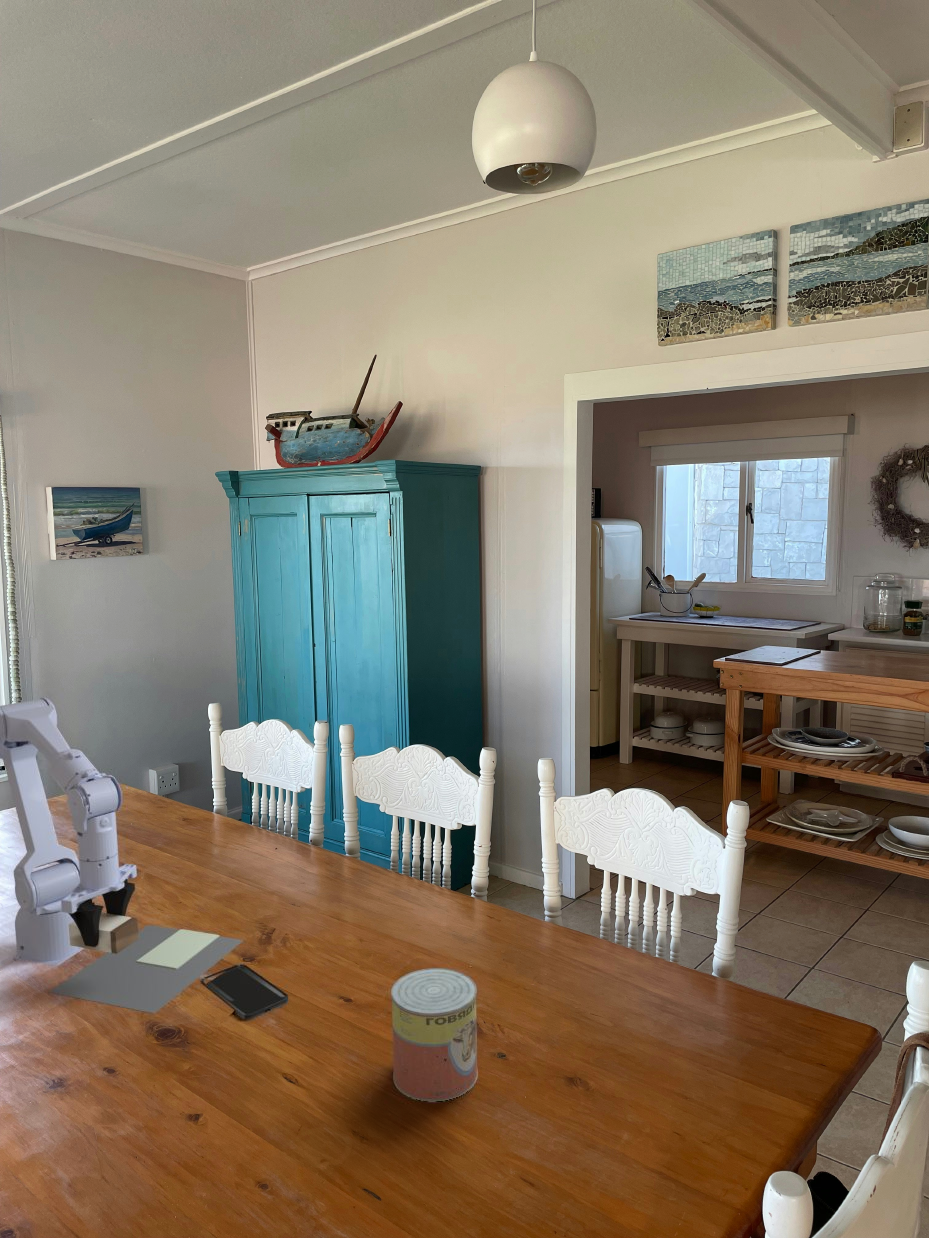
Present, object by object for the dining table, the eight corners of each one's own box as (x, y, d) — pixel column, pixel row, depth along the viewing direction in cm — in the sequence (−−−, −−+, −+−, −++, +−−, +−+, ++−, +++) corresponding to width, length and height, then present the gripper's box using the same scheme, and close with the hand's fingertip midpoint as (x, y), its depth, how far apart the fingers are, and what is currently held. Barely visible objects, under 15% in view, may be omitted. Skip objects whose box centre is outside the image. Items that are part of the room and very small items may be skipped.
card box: (70, 945, 140) (68, 924, 140) (92, 931, 145) (91, 910, 144) (116, 953, 137) (115, 932, 137) (138, 939, 142) (137, 918, 142)
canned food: (447, 1113, 111) (446, 1023, 109) (376, 1083, 117) (373, 997, 115) (493, 1065, 120) (492, 981, 119) (424, 1040, 126) (423, 960, 125)
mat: (48, 995, 139) (48, 991, 139) (149, 927, 162) (148, 924, 162) (154, 1017, 133) (154, 1013, 133) (243, 943, 156) (243, 940, 155)
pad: (176, 969, 146) (176, 968, 146) (136, 961, 148) (136, 960, 148) (219, 936, 157) (219, 935, 157) (181, 929, 160) (181, 928, 160)
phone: (242, 962, 148) (291, 996, 137) (242, 968, 148) (291, 1003, 137) (198, 979, 142) (245, 1017, 131) (198, 986, 142) (245, 1024, 131)
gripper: (85, 875, 131) (91, 962, 133) (150, 841, 145) (154, 920, 146) (47, 870, 134) (53, 955, 135) (114, 836, 147) (119, 914, 149)
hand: (103, 937), depth 141 cm, fingers closed on card box, 5 cm apart
